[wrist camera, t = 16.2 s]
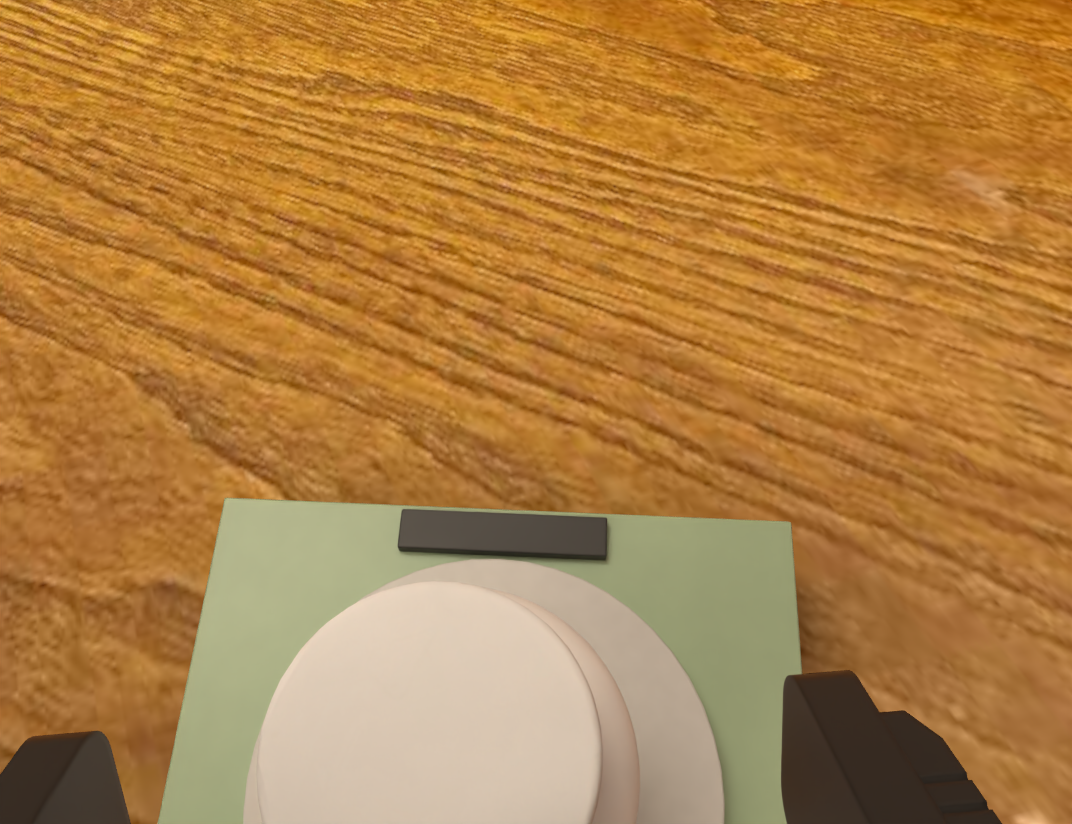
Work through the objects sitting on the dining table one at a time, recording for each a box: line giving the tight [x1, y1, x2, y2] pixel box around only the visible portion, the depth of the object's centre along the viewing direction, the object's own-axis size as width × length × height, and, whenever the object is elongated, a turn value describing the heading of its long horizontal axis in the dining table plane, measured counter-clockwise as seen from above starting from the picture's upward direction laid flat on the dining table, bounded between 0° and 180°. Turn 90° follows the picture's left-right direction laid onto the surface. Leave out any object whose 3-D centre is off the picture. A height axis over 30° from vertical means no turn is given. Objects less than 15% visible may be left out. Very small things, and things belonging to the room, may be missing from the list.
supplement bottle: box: [257, 581, 640, 824], centre depth 15 cm, size 5×5×10 cm
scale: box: [158, 498, 802, 824], centre depth 21 cm, size 14×13×4 cm
